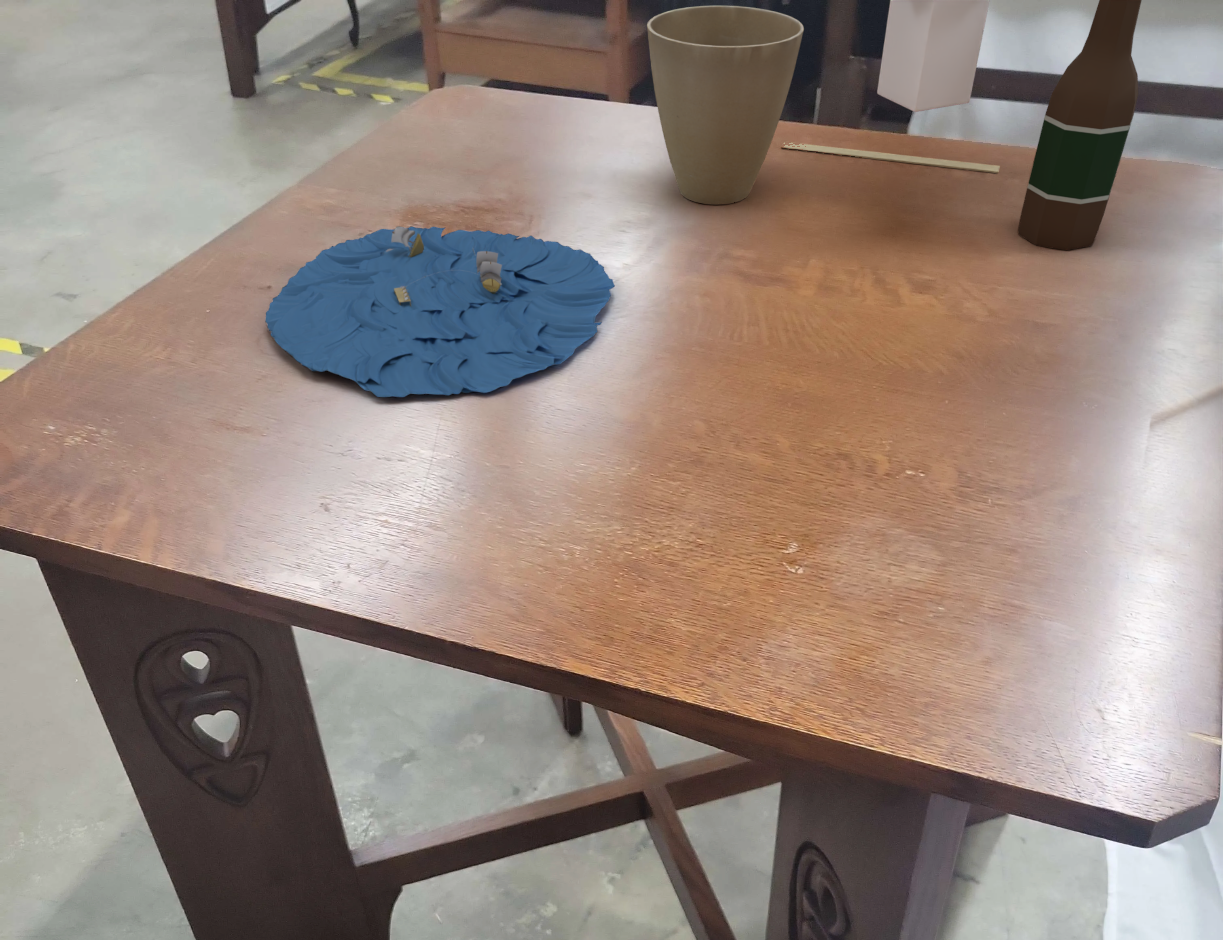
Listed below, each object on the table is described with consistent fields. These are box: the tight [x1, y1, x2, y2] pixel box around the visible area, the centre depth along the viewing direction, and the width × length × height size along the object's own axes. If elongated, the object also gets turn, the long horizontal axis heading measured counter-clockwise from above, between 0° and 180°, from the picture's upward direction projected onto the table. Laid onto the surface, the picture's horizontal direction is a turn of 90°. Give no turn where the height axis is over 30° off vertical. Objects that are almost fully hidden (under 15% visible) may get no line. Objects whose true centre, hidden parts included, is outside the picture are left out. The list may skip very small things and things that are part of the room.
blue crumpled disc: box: [264, 225, 616, 398], centre depth 91 cm, size 30×30×5 cm
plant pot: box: [646, 5, 805, 206], centre depth 107 cm, size 15×15×16 cm
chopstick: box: [783, 142, 1001, 174], centre depth 119 cm, size 24×2×1 cm, turn 69°
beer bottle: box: [1017, 0, 1142, 251], centre depth 95 cm, size 8×8×24 cm
